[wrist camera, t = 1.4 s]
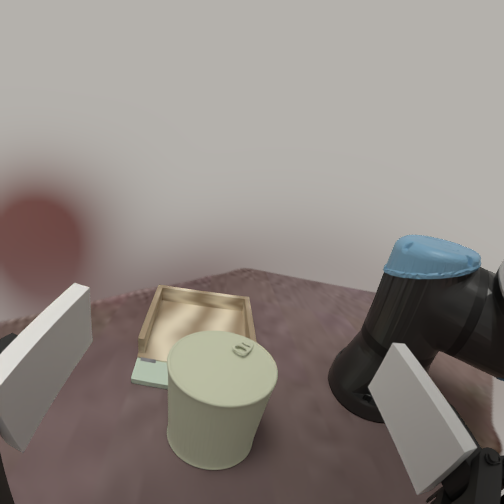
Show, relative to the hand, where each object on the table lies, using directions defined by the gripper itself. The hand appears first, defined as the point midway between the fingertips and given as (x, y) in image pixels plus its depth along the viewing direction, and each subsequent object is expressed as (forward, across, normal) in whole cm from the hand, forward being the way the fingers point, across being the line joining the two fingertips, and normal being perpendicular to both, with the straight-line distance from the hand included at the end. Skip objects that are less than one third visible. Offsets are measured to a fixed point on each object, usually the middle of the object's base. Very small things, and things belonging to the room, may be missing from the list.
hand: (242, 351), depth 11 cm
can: (+10, +1, -20) cm, 22 cm away
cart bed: (+27, -3, -19) cm, 34 cm away
